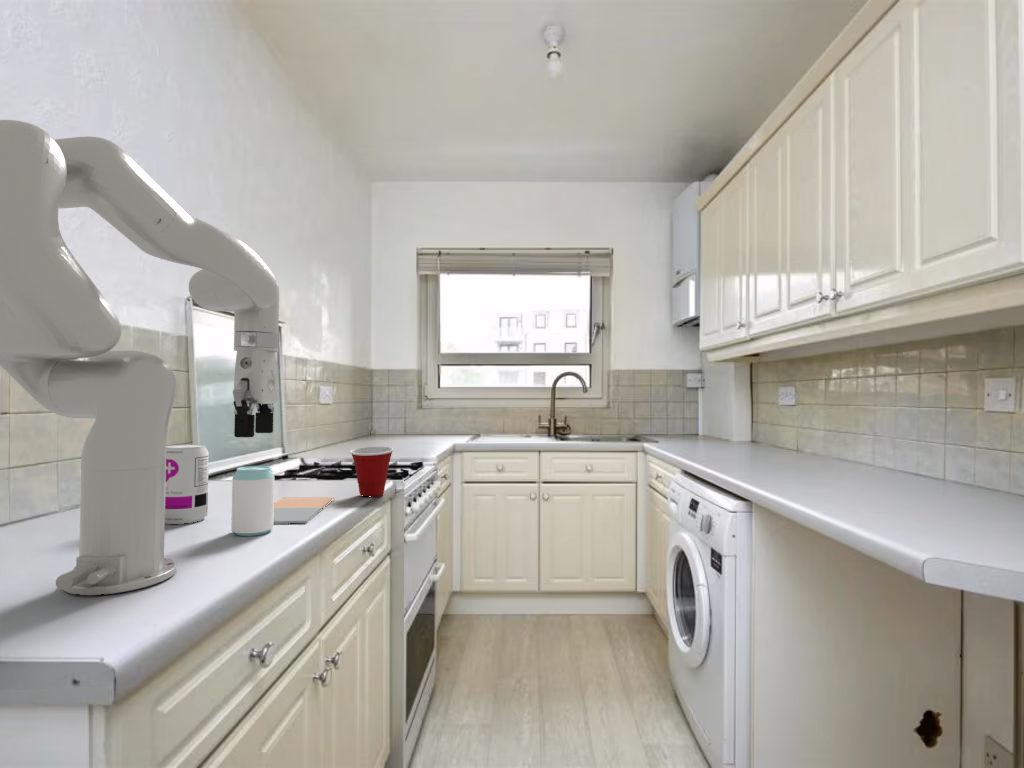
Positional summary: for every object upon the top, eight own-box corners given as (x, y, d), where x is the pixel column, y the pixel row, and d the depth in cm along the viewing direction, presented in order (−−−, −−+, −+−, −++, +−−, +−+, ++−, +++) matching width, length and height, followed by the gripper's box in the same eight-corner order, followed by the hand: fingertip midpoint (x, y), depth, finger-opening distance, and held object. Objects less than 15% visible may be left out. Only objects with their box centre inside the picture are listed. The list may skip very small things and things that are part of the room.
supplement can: (169, 527, 102) (171, 449, 102) (153, 521, 107) (154, 446, 107) (214, 519, 108) (216, 446, 109) (196, 513, 113) (198, 443, 114)
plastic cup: (339, 497, 132) (340, 449, 132) (364, 490, 142) (365, 445, 143) (378, 501, 129) (379, 451, 129) (400, 493, 139) (401, 447, 139)
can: (271, 535, 97) (272, 469, 97) (228, 538, 95) (229, 470, 95) (274, 526, 104) (276, 464, 104) (234, 528, 101) (236, 465, 102)
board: (306, 523, 106) (306, 520, 106) (243, 524, 105) (243, 521, 105) (334, 499, 130) (334, 497, 130) (283, 500, 129) (283, 497, 129)
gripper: (260, 339, 92) (258, 439, 92) (291, 347, 109) (289, 431, 109) (214, 338, 91) (212, 438, 91) (253, 347, 108) (251, 431, 108)
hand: (254, 434), depth 100 cm, fingers open, 9 cm apart
